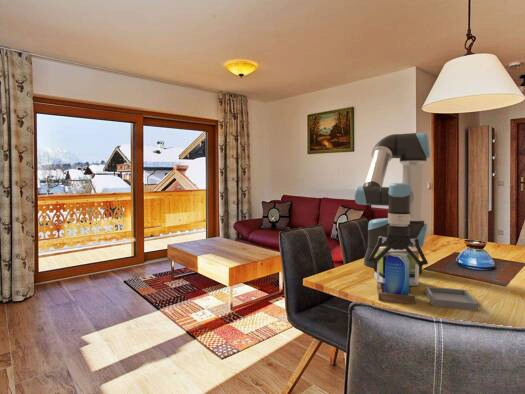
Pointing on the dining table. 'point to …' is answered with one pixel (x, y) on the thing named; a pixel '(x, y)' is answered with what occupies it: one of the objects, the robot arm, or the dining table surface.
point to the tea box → (383, 262)
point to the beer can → (397, 273)
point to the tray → (451, 298)
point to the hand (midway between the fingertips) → (396, 280)
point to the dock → (393, 295)
